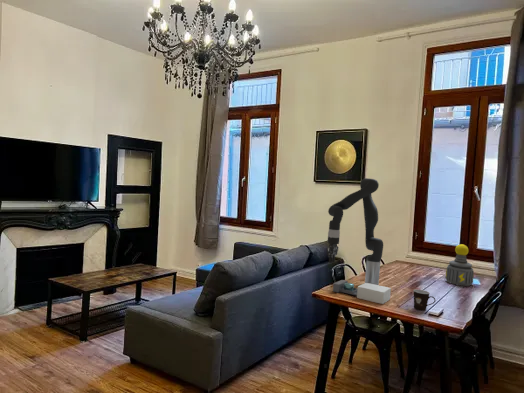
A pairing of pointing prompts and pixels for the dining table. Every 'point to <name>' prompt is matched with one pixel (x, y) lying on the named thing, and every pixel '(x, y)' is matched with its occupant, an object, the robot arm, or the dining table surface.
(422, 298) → the coffee mug
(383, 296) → the white rectangular block
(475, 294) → the dining table surface
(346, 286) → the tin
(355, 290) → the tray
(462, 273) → the decorative lamp
